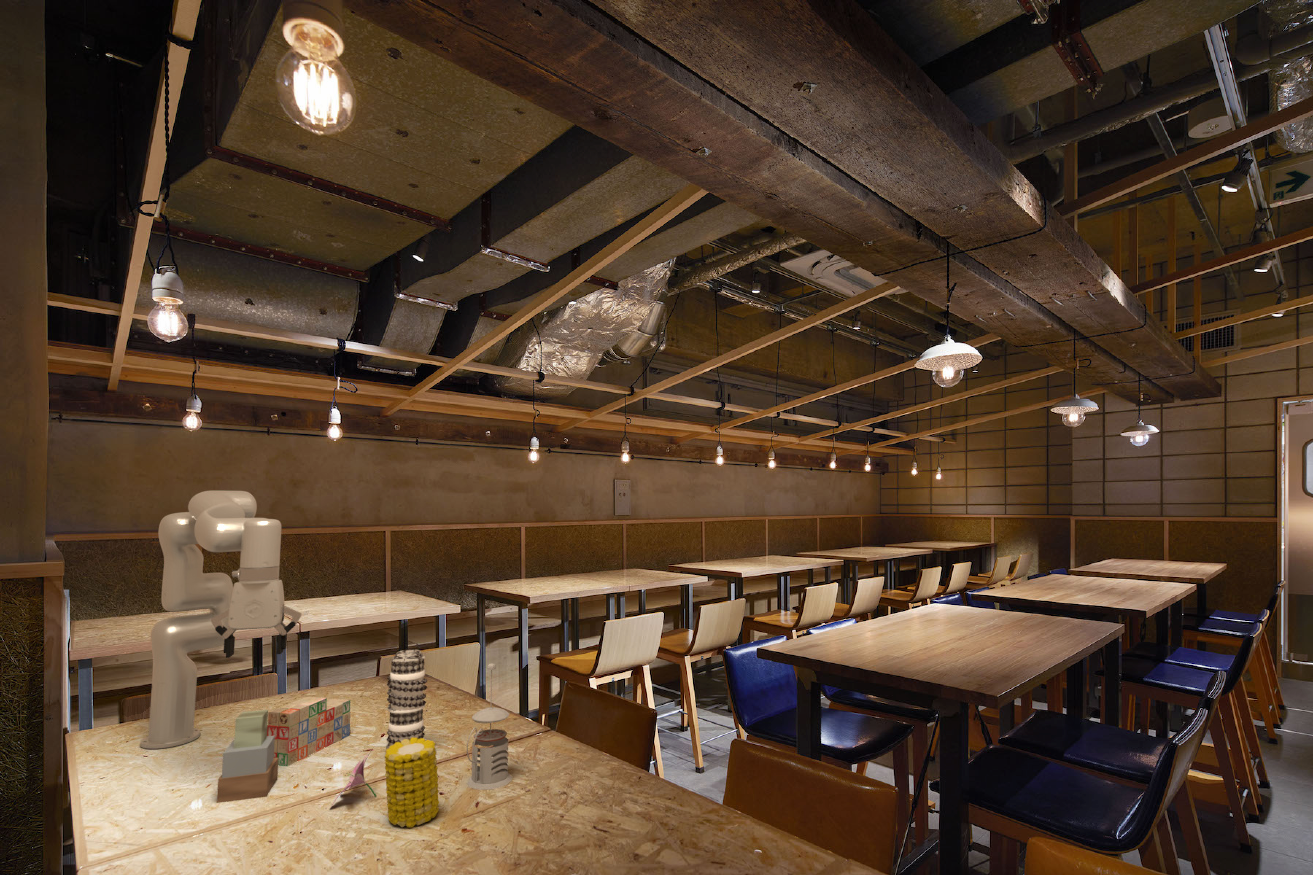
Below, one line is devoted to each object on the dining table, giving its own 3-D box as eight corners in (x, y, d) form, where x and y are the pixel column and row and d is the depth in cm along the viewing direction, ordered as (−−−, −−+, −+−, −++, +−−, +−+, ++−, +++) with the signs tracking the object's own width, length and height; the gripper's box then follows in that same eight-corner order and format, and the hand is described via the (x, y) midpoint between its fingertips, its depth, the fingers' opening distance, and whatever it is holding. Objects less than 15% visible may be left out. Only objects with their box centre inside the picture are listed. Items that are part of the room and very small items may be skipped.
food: (447, 820, 128) (403, 846, 120) (410, 793, 135) (365, 815, 126) (458, 747, 128) (414, 767, 119) (420, 723, 134) (375, 740, 125)
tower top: (231, 764, 142) (233, 740, 143) (273, 758, 145) (274, 735, 145) (221, 778, 135) (223, 753, 135) (266, 772, 137) (267, 747, 138)
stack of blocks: (329, 734, 174) (331, 686, 176) (350, 735, 173) (352, 687, 174) (265, 764, 154) (267, 710, 155) (287, 767, 152) (290, 712, 154)
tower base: (230, 786, 142) (232, 762, 143) (277, 780, 145) (278, 757, 146) (216, 804, 134) (218, 778, 134) (266, 798, 136) (267, 773, 137)
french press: (521, 775, 146) (522, 660, 149) (487, 796, 136) (489, 672, 138) (486, 768, 150) (488, 656, 153) (451, 788, 140) (453, 668, 142)
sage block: (240, 740, 142) (242, 711, 143) (266, 737, 144) (268, 709, 144) (233, 748, 138) (235, 718, 138) (260, 745, 139) (262, 716, 140)
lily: (364, 787, 143) (341, 751, 142) (407, 770, 140) (384, 734, 139) (330, 830, 131) (305, 792, 130) (375, 813, 129) (350, 774, 128)
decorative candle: (375, 762, 154) (379, 654, 157) (404, 749, 163) (407, 646, 165) (405, 768, 151) (409, 657, 153) (433, 754, 159) (436, 649, 162)
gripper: (208, 578, 138) (203, 661, 136) (299, 575, 143) (295, 655, 142) (219, 575, 145) (215, 653, 143) (306, 572, 150) (302, 648, 149)
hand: (255, 654), depth 142 cm, fingers open, 9 cm apart
